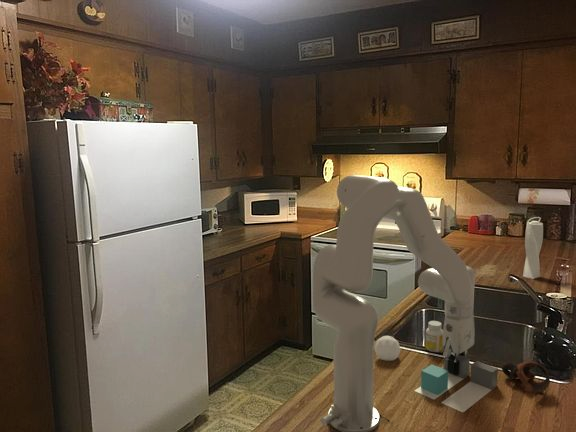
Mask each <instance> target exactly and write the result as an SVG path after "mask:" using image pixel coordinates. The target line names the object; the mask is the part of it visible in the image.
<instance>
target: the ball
mask: <svg viewBox="0 0 576 432" xmlns="http://www.w3.org/2000/svg"><path fill="white" fill-rule="evenodd" d="M373 350H374V352H375V356H376V357H377V358H379V359H380V360H382V361H386V362H388V361H391V362H392V361H395V360H396V359H397V358H399V356H400V353H401V346H400V343H399V341H398V340H397V339H395V338H394V337H393V336H392V335H382V336H381V337H379V338H378V339H376V342H375V343H374V348H373Z"/></svg>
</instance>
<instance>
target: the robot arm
mask: <svg viewBox="0 0 576 432" xmlns="http://www.w3.org/2000/svg"><path fill="white" fill-rule="evenodd" d="M336 196H337V200H338V201H339V203H340V205H342V206H343V207H344V208H346V211H345V212H344V214H343V215H341V216H342V217H341V218H340V220H339V222H338V225H337V230H336V231H337V232H336V244H328V245H326V246H324V247H322V248H321V249H320V250H319V251H318V253H317V254H316V257H315V259H314V261H313V267H312V268H313V269H312V272H313V273H312V301H313V302H312V305H313V306H312V307H313V309H314V310H313V311H314V314H315V316H316V317H317V319H318V320H319V321H320V322H323V323H324V324H325V325H327V326H329V327H330V328H332V329H334V330H335V331H338V338H337V340H336V341H335V344H334V346H333V404H331V407H330V408H329V410H328V412H327V414H326V415H324V416H323V417H321V418H320V423H321V425H322V426H324V427H326V426H327V425H331V427H333V428H334V429H335V430H338V431H339V432H372V431H373V430H375V429H377V427H378V426H379V425H380V414H379V412H378V410H377V409H376V408H375V407H374V347H375V338H376V332H377V329H378V328H377V327H378V323H379V321H378V320H379V314H378V312H377V309H376V307H375V306H374V305H373V304H372V303H371V302H370V301H369V300H368V299H366V298H364V297H361V296H360V295H357V294H355V293H362V292H365V291H367V289H368V288H369V287H370V286H371V283H372V280H373V272H374V271H373V270H374V267H373V266H374V243H375V242H374V241H375V240H374V239H375V235H376V234H375V232H376V230H377V227H378V226H379V224H380V222H381V221H382V220H383V219H388V220H389V219H390V220H393V221H394V222H395V224H396V225H397V228H398V229H399V232H400V235H401V237H402V240H403V242H404V244H405V246H406V248H407V250H408V251H409V252H410V253H411V254H412V255H413V256H415V257H416V258H417V259H419V260H421V261H422V262H423V263H425V264H427V265H428V266H429V268H427V269H426V270H424V271H422V272H421V273H420V275H419V277H418V279H417V284H418V288H419V289H420V291H421V292H422V293H424V294H426V295H428V296H431V297H433V298H436V299H440V300H442V301H444V315H445V317H444V322H443V329H442V330H443V340H442V343H443V352H442V353H443V354H442V356H443V357H444V358H445V357H447V359H448V367H447V371H448V372H449V373H452V374H455V375H458V374H459V362H458V355H461V356H464V357H467V356H468V350H469V349H470V348H472V347H473V346H474V345H475V338H476V337H475V335H476V334H475V333H476V332H475V331H476V329H475V317H474V303H475V301H474V300H475V283H476V282H475V279H476V277H475V276H476V272H475V270H474V268H472V267H471V266H469V265H466V263H464V261H463V259H461V257H460V256H459V255H458V253H457V252H455V250H454V249H453V248H451V246H450V245H449V244H448V243H447V242H446V241H445V240H444V239H443V238H442V237H440V234H439V232H438V229H437V227H436V225H435V223H434V220H433V218H432V215H431V212H430V210H429V207H428V205H427V203H426V200H425V198H424V195H423V194H422V192H420V191H418V189H415V188H411V187H404V186H398V184H397V183H395V181H393V180H391V179H389V178H386V177H380V176H373V175H371V176H370V175H359V174H351V175H347V176H345V177H343V178H342V179H341V181H340V182H339V183H338V185H337V188H336ZM430 267H431V268H430ZM451 352H452V353H455V355H453V354H451Z"/></svg>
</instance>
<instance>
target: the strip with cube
mask: <svg viewBox="0 0 576 432" xmlns="http://www.w3.org/2000/svg"><path fill="white" fill-rule="evenodd" d="M451 354H453V355H455V353H452V352H451ZM470 359H471V358H469V357H467V356H466V357H464V356H461V355H458V362H459V374H458V375H455V374H452V373H449V372H448V388H447V389H446V390H444V391H443V392H441V393H440V394H439V395H436V394H434V393H432V392H429V391H427V390H425V389H422V388H421V386H419V387H417V388H416V389H415V390H413V391H414V392H415V393H418V394H420V395H422V396H425V397H428V398H429V399H432V400H436V399H437V398H439V397H440V396H442V395H443V394H444V393H446V392H447V391H448V390H451V388H453V387H455V386H456V385H457V384H458V383H460V382H461V381H463V380H464V379H466V378H467V377H469V375H470V363H471V362H470V361H471V360H470ZM443 362H444V363H443V365H444V366H443V367H444V368H443V369H445V370H447V367H448V359H447V357H445V356H444V360H443Z"/></svg>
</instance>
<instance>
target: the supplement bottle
mask: <svg viewBox="0 0 576 432" xmlns="http://www.w3.org/2000/svg"><path fill="white" fill-rule="evenodd" d="M427 324H428V325H427V328H426V329H425V343H424V344H425V345H424V348H425V350H427V351H428V352H431V353H444V349H443V343H442V340H443V329H442V326H443V324H442V322H440V321H437V320H430V321H428V323H427Z"/></svg>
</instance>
